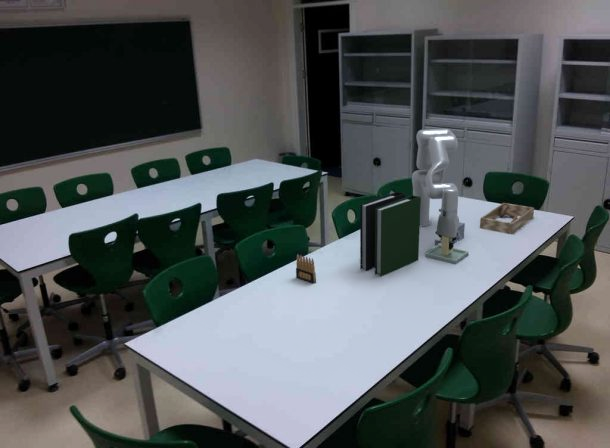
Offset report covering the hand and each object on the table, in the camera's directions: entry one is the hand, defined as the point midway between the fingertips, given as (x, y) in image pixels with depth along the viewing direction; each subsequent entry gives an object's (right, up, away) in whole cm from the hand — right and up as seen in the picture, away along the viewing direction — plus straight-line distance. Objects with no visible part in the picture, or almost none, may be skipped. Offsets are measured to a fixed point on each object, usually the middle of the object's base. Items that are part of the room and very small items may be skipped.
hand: (447, 248), depth 263 cm
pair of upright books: (-30, -8, -5) cm, 31 cm away
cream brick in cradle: (0, -2, +1) cm, 2 cm away
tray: (0, -4, +1) cm, 4 cm away
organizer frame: (+46, +13, +43) cm, 64 cm away
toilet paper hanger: (+45, +12, +45) cm, 65 cm away
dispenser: (+6, +3, +20) cm, 21 cm away
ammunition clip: (-70, -14, -19) cm, 73 cm away
